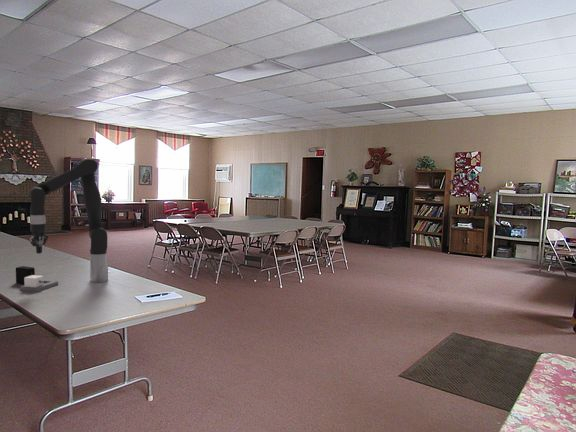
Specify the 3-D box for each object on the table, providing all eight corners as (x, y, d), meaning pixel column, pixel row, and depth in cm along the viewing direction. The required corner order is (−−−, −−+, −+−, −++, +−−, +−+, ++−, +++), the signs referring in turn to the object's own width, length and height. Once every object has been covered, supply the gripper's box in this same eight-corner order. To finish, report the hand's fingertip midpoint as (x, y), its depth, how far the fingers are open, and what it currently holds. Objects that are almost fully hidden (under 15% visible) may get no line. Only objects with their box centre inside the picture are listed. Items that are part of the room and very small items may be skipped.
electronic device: (28, 285, 237) (28, 268, 237) (15, 284, 241) (15, 267, 240) (35, 284, 241) (34, 267, 241) (22, 282, 245) (22, 265, 244)
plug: (47, 288, 232) (46, 276, 231) (38, 291, 226) (38, 278, 225) (32, 287, 233) (32, 275, 233) (24, 289, 227) (24, 277, 227)
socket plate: (58, 285, 241) (58, 281, 241) (37, 292, 225) (37, 288, 225) (41, 283, 243) (41, 279, 242) (19, 290, 227) (19, 286, 227)
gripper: (35, 224, 224) (36, 255, 225) (52, 221, 237) (53, 251, 239) (22, 224, 225) (24, 255, 227) (40, 221, 238) (41, 250, 240)
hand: (39, 253), depth 233 cm, fingers closed
